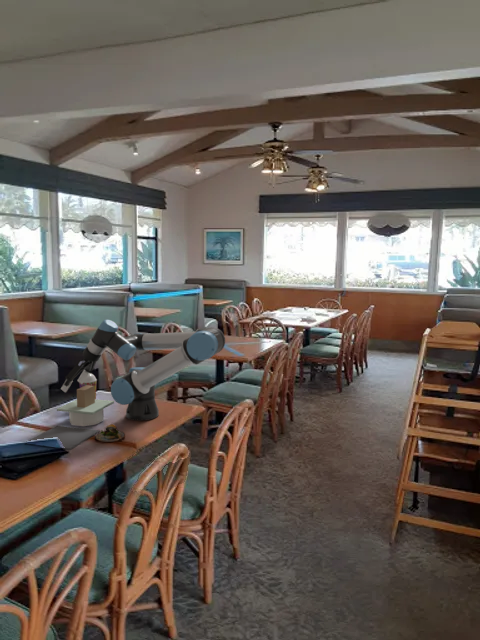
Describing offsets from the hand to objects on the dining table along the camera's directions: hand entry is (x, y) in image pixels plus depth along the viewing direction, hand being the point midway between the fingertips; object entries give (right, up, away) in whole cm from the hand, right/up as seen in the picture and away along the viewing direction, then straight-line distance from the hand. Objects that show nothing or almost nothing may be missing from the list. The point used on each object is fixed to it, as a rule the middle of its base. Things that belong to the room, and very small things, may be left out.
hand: (71, 386), depth 221 cm
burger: (+24, -19, -23) cm, 38 cm away
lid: (+7, -9, -2) cm, 12 cm away
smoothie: (+1, -13, +20) cm, 24 cm away
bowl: (+7, -16, -1) cm, 17 cm away
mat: (+4, -18, -22) cm, 29 cm away
